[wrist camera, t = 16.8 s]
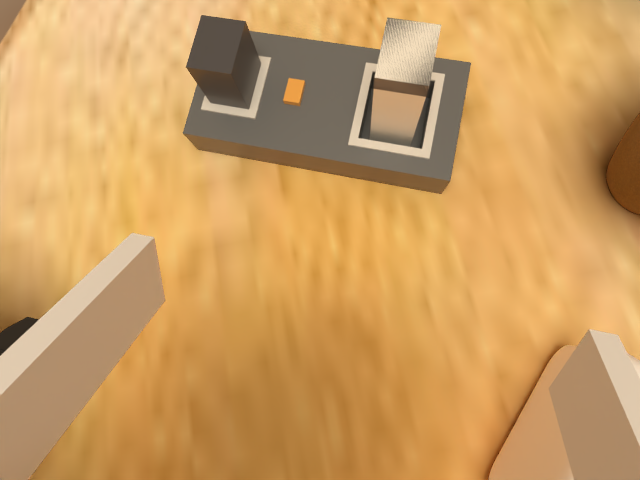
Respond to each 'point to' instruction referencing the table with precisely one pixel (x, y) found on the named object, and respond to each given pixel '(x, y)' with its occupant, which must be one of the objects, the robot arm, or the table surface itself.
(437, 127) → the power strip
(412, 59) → the plug
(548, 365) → the white lumpy block
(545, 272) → the table surface
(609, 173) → the plant pot
